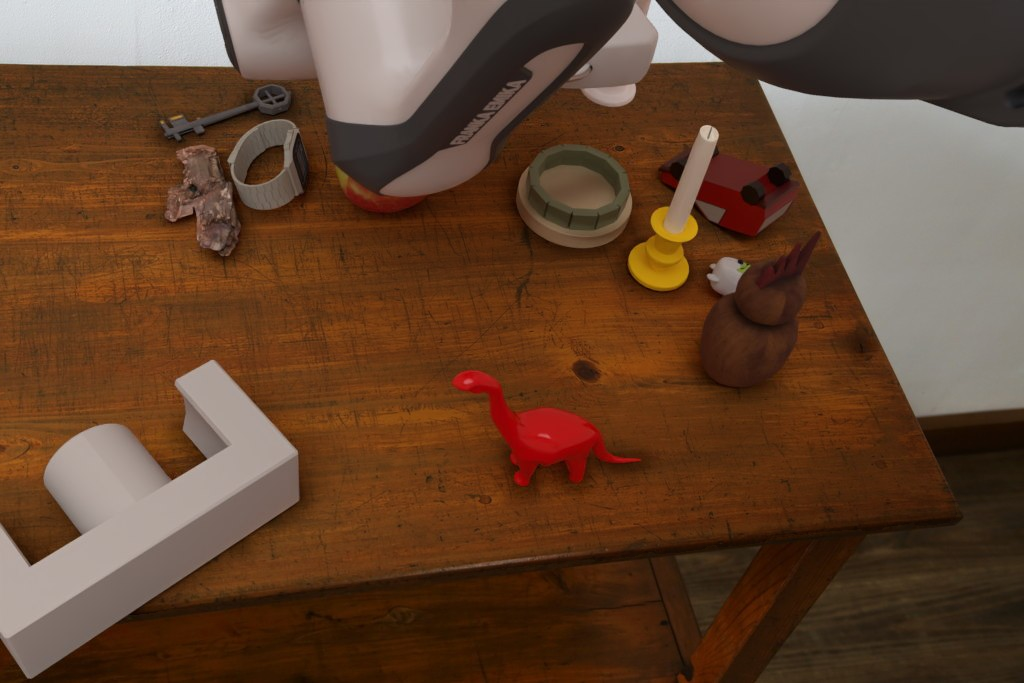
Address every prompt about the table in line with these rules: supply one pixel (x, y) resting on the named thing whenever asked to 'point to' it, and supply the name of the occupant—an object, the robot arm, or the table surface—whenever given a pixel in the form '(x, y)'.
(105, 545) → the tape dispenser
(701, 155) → the candle
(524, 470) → the dinosaur
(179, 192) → the tree bark
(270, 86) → the key
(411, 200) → the apple
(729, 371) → the wooden figurine
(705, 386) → the table surface
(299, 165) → the wristwatch
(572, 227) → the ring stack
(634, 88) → the candle
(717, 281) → the toy
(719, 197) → the toy truck
